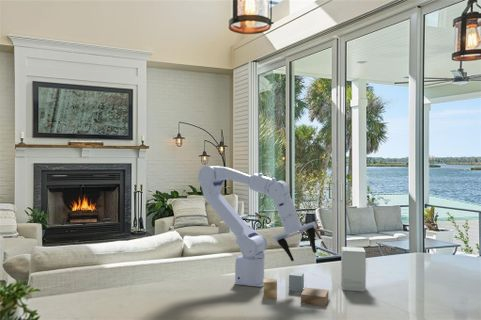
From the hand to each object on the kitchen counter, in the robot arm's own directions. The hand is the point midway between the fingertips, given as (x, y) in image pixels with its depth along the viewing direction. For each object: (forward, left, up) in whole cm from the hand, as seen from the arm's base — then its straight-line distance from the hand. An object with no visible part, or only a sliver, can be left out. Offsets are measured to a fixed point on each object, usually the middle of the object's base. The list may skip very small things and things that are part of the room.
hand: (303, 256), depth 135 cm
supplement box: (+15, +8, -11) cm, 20 cm away
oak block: (-8, -10, -11) cm, 17 cm away
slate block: (-2, 0, -11) cm, 11 cm away
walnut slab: (+5, -10, -11) cm, 15 cm away
